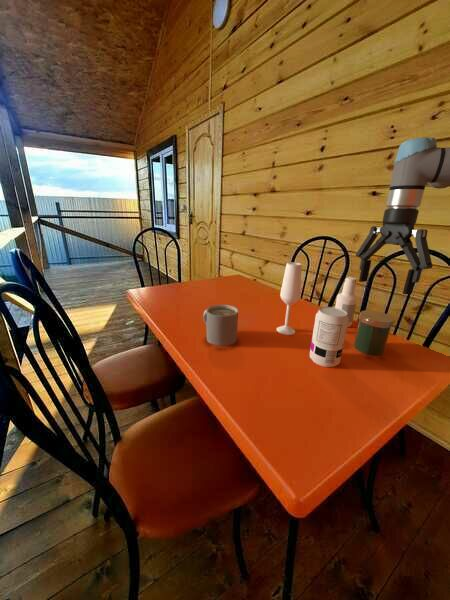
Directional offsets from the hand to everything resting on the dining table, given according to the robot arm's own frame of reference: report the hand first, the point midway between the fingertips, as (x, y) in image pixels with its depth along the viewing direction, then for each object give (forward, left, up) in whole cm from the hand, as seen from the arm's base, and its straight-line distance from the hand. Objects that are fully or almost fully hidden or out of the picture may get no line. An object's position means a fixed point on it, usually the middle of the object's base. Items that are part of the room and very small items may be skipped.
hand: (383, 287), depth 73 cm
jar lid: (0, 0, -10) cm, 10 cm away
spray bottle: (+7, -17, -20) cm, 28 cm away
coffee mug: (+46, +12, -20) cm, 52 cm away
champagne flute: (+26, -2, -20) cm, 33 cm away
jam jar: (0, 0, -20) cm, 20 cm away
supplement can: (+13, +13, -20) cm, 27 cm away
